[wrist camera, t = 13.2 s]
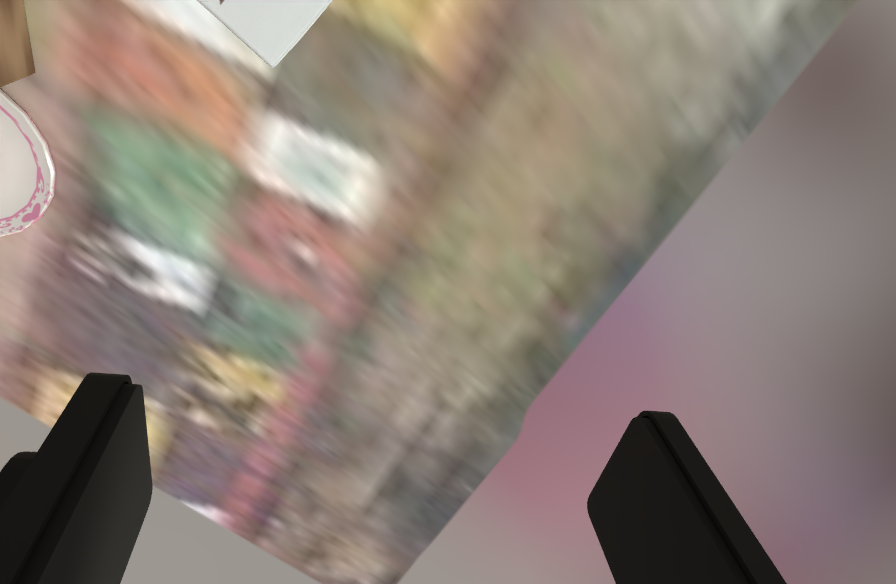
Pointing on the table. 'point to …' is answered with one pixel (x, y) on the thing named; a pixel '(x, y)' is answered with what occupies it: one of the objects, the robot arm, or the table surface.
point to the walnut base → (14, 43)
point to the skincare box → (268, 23)
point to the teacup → (22, 169)
